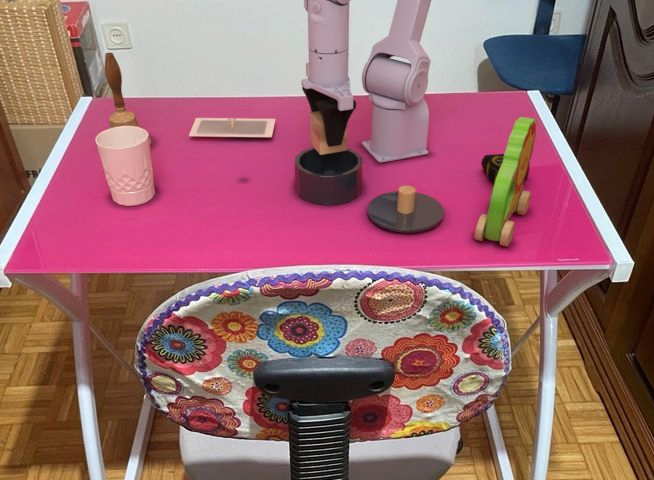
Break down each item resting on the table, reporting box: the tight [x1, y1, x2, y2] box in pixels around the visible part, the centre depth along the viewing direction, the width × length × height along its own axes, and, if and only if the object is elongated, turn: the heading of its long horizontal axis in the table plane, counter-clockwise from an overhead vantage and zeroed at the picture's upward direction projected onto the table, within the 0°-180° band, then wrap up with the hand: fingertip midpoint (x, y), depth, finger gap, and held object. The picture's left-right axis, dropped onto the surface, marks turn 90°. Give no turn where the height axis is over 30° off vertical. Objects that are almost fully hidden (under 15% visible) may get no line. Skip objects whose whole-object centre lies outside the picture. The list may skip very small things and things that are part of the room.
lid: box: [366, 184, 445, 234], centre depth 109 cm, size 12×12×4 cm
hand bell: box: [104, 52, 152, 146], centre depth 124 cm, size 8×8×16 cm
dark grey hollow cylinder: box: [294, 146, 363, 206], centre depth 115 cm, size 11×11×5 cm
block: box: [309, 111, 348, 155], centre depth 110 cm, size 4×4×5 cm
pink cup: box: [95, 126, 156, 207], centre depth 112 cm, size 8×8×10 cm
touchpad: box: [188, 117, 276, 138], centre depth 132 cm, size 8×15×2 cm, turn 88°
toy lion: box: [473, 116, 537, 248], centre depth 104 cm, size 16×5×15 cm, turn 155°
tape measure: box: [480, 153, 531, 183], centre depth 117 cm, size 7×7×4 cm
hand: (328, 138), depth 111 cm, fingers closed on block, 4 cm apart
